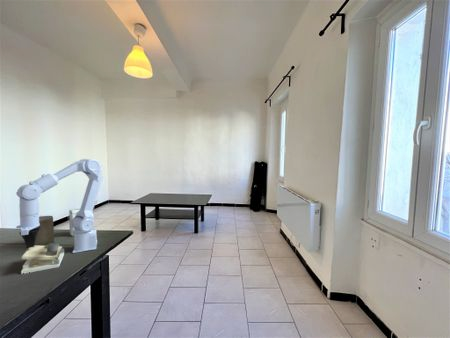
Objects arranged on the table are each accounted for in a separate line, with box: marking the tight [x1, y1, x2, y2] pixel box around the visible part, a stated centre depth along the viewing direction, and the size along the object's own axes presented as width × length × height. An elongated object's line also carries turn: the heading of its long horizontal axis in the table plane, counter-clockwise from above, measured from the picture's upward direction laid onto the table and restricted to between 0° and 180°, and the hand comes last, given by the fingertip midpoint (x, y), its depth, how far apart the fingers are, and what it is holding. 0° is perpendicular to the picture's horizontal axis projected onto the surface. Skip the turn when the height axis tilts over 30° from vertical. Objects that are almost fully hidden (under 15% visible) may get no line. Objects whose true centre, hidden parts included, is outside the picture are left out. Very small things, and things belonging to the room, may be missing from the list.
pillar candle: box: [35, 215, 55, 246], centre depth 110 cm, size 10×10×15 cm
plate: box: [21, 242, 64, 260], centre depth 91 cm, size 11×12×5 cm
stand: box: [20, 248, 65, 275], centre depth 91 cm, size 12×13×3 cm
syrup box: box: [68, 208, 80, 237], centre depth 124 cm, size 6×6×14 cm
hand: (30, 246), depth 88 cm, fingers closed
